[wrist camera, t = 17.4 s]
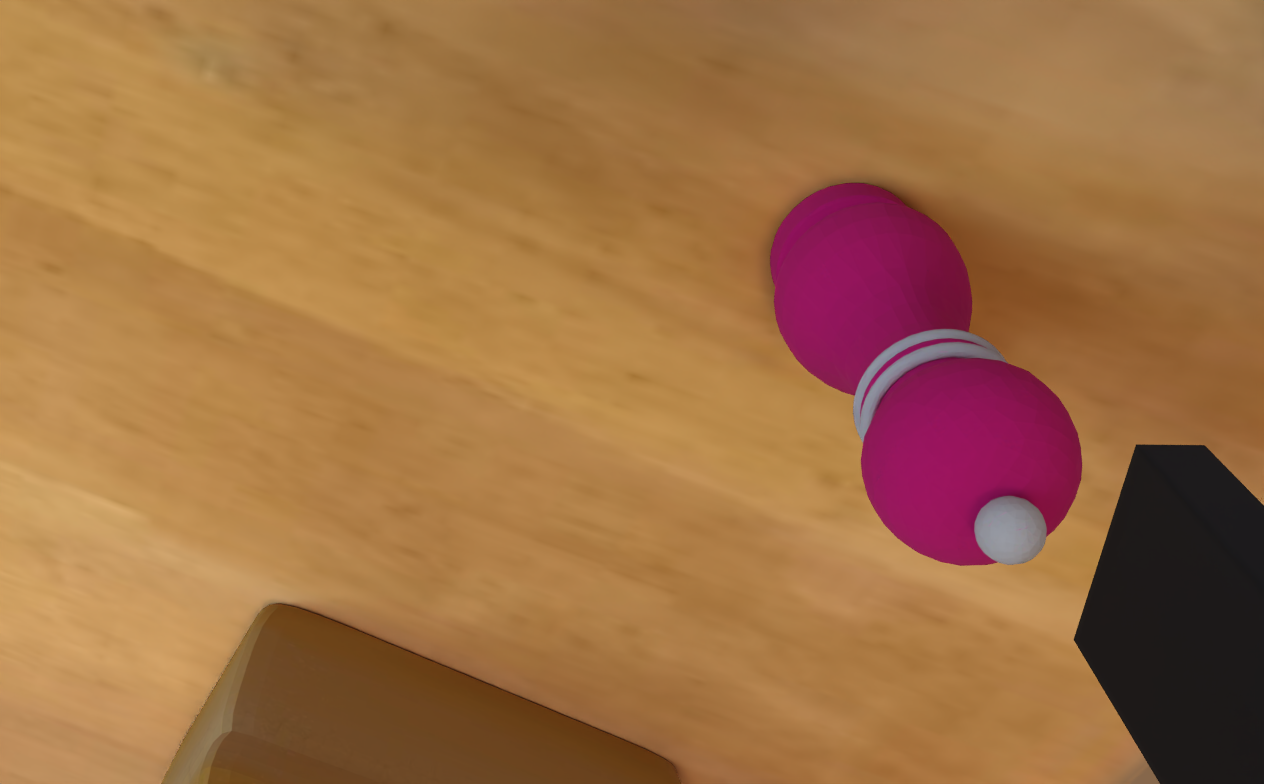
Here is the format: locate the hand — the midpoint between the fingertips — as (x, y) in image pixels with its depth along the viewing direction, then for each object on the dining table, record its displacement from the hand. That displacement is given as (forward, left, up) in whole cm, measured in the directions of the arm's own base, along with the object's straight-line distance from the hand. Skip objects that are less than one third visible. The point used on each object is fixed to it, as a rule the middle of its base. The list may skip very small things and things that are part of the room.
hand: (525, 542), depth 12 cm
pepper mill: (-12, +9, -32) cm, 35 cm away
